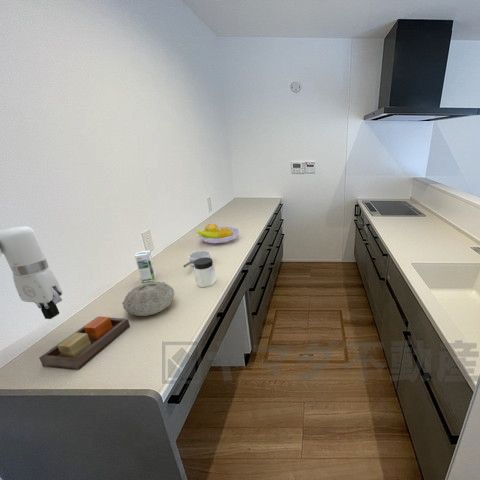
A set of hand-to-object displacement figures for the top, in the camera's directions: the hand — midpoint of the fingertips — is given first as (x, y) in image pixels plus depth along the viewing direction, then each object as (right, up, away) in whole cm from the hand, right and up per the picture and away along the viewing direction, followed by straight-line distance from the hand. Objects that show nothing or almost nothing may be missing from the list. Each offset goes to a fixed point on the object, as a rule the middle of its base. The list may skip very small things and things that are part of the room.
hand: (52, 316), depth 87 cm
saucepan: (+20, +10, +58) cm, 62 cm away
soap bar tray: (+11, -10, +2) cm, 15 cm away
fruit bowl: (+18, +25, +97) cm, 101 cm away
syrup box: (+3, +5, +44) cm, 45 cm away
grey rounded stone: (+19, -3, +22) cm, 29 cm away
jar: (+33, +4, +42) cm, 53 cm away
